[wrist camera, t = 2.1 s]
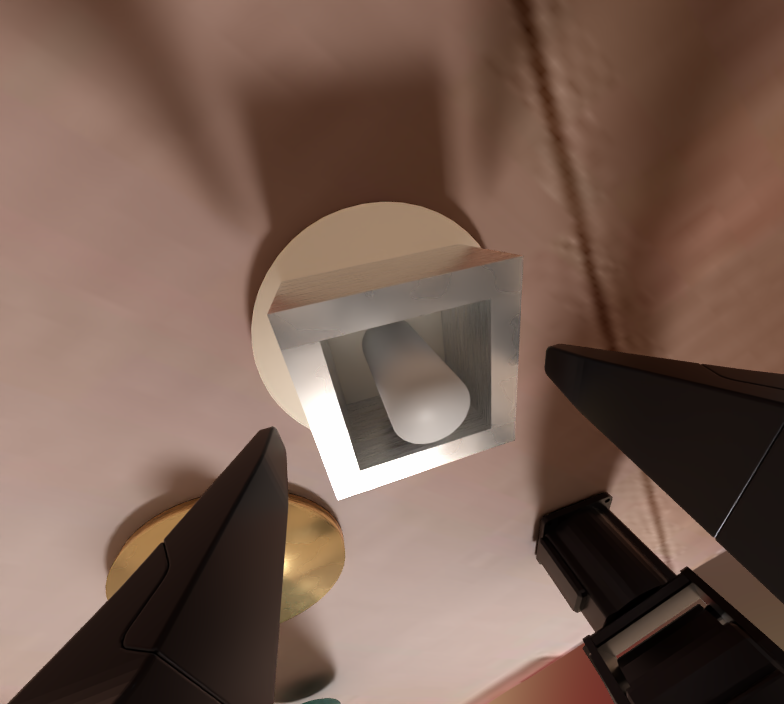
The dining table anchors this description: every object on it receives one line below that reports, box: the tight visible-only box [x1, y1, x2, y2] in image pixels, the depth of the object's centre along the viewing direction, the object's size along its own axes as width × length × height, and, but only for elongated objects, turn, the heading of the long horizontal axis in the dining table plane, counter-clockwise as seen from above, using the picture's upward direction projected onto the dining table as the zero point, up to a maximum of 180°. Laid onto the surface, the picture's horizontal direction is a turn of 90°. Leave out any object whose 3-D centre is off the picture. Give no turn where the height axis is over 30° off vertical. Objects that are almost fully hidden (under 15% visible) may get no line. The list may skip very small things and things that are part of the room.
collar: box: [267, 244, 523, 500], centre depth 11 cm, size 7×7×4 cm
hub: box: [106, 494, 345, 623], centre depth 14 cm, size 12×12×6 cm
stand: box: [251, 202, 481, 444], centre depth 11 cm, size 11×11×6 cm
